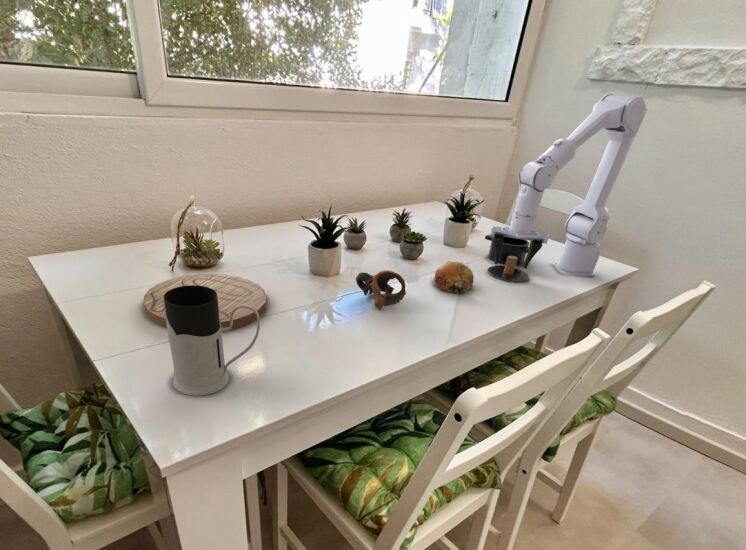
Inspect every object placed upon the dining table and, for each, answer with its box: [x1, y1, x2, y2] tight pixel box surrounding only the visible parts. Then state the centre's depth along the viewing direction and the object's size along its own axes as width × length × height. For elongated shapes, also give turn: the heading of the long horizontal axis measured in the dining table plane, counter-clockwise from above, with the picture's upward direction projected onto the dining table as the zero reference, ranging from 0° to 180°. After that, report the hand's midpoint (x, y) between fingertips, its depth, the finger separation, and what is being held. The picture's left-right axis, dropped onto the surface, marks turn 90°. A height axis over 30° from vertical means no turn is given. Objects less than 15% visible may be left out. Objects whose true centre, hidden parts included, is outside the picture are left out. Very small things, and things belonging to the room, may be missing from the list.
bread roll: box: [434, 260, 475, 294], centre depth 117 cm, size 10×10×8 cm
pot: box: [484, 234, 530, 267], centre depth 137 cm, size 10×16×6 cm, turn 43°
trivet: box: [142, 273, 268, 330], centre depth 98 cm, size 25×25×2 cm
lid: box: [486, 256, 530, 283], centre depth 126 cm, size 11×11×6 cm
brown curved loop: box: [355, 270, 407, 310], centre depth 106 cm, size 12×10×8 cm
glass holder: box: [164, 285, 261, 397], centre depth 72 cm, size 9×14×15 cm, turn 95°
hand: (510, 265), depth 126 cm, fingers open, 7 cm apart
